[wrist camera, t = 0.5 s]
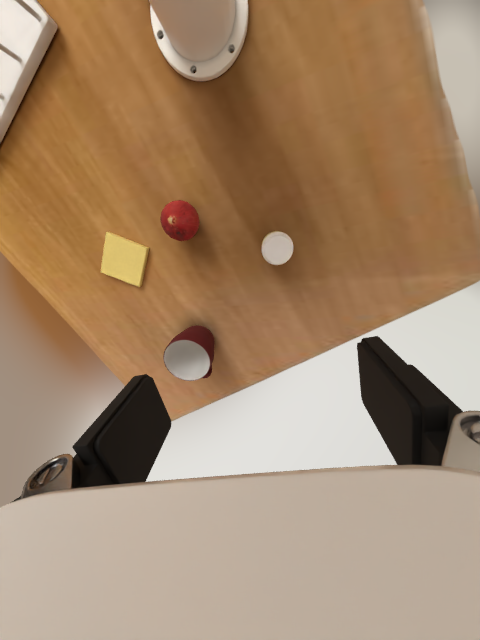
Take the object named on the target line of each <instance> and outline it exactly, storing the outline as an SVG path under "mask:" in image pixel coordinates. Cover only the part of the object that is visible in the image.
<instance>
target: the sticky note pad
mask: <svg viewBox="0 0 480 640" xmlns="http://www.w3.org/2000/svg"><path fill="white" fill-rule="evenodd" d="M148 253H149V247H146V246H144V245H141V244H139V243H136V242H134V241H131V240H129V239H126V238H124V237H121V236H119V235H116V234H114V233H111V232H106V237H105V244H104V251H103V259H102V266H101V273H104V274H107V275H109V276H112V277H114V278H117V279H120V280H122V281H125V282H127V283H130V284H133V285H135V286H138V287H140V286H142V281H143V276H144V272H145V267H146V262H147V257H148Z"/></svg>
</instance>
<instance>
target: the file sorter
mask: <svg viewBox="0 0 480 640" xmlns="http://www.w3.org/2000/svg"><path fill="white" fill-rule="evenodd" d="M57 27H58V26H57V24H56V23H55V21H54V20H53V19H52V18H51V17H50V15H49V14H48V13H47V12H46V11H45V10H44V8H43V7H42V6H41V5H40V4H39V3H38V1H37V0H0V143H1V141H2V139H3V137H4V135H5V133H6V131H7V129H8V127H9V125H10V123H11V121H12V119H13V117H14V115H15V113H16V111H17V109H18V107H19V105H20V103H21V101H22V99H23V97H24V95H25V93H26V91H27V88H28V86H29V84H30V82H31V80H32V78H33V76H34V74H35V72H36V70H37V68H38V66H39V64H40V62H41V60H42V58H43V56H44V54H45V52H46V50H47V48H48V46H49V44H50V42H51V40H52V38H53V36H54V34H55V32H56V30H57Z"/></svg>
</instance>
